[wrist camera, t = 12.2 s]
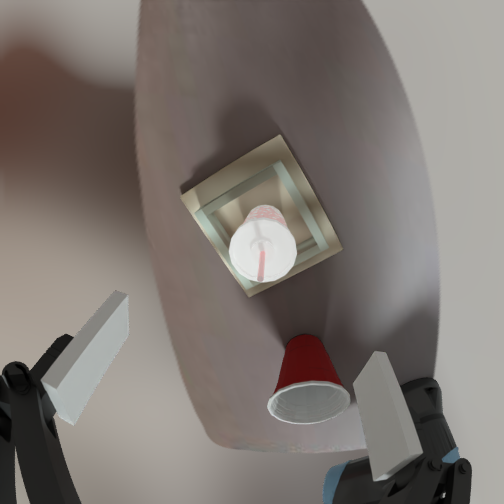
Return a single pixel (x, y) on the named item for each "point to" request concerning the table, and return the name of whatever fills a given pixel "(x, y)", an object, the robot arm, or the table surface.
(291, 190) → the cup stand
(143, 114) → the table surface
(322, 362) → the plastic cup
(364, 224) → the table surface
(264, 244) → the beverage cup
